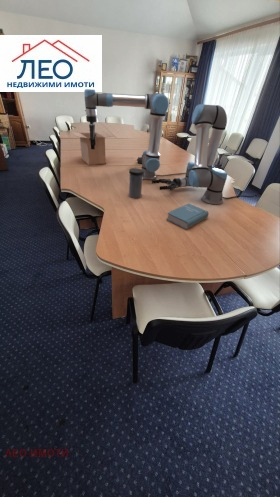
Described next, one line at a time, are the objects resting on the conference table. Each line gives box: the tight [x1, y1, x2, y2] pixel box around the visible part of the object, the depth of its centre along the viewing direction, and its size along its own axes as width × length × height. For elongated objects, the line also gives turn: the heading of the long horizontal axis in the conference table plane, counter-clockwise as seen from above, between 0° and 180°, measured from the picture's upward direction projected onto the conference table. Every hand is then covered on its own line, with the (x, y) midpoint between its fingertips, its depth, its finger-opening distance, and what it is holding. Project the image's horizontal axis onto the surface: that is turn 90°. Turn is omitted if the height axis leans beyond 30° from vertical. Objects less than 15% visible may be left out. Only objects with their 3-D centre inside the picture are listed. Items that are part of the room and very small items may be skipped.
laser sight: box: [136, 154, 143, 165], centre depth 237 cm, size 10×22×10 cm, turn 78°
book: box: [166, 203, 209, 230], centre depth 143 cm, size 23×16×5 cm
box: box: [70, 130, 114, 166], centre depth 229 cm, size 44×36×27 cm
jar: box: [128, 173, 143, 199], centre depth 164 cm, size 9×9×19 cm
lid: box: [128, 167, 143, 175], centre depth 159 cm, size 10×10×2 cm
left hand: (93, 147), depth 172 cm, fingers open, 13 cm apart
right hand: (155, 185), depth 174 cm, fingers open, 13 cm apart
